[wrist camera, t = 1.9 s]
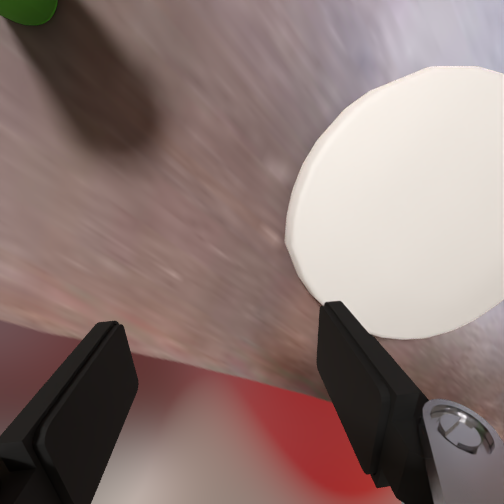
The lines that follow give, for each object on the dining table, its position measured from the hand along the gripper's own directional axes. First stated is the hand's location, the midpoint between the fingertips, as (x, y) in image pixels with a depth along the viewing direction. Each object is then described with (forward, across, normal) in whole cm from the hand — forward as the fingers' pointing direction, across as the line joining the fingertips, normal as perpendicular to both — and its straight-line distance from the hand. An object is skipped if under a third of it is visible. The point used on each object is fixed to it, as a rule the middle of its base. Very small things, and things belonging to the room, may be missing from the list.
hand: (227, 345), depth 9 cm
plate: (+18, -20, 0) cm, 27 cm away
